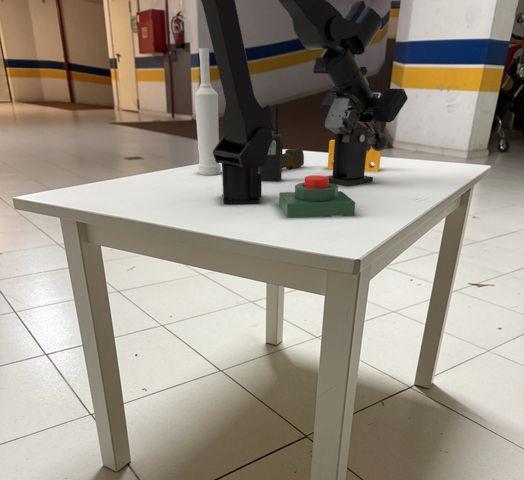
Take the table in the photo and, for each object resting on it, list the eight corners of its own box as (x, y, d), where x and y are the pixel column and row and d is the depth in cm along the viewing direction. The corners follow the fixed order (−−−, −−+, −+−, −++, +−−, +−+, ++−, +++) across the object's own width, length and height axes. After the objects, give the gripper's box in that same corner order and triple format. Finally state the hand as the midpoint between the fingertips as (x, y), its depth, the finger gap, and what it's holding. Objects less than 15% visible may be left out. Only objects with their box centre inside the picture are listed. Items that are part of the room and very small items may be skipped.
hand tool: (257, 177, 111) (257, 155, 109) (245, 174, 114) (245, 153, 112) (311, 168, 123) (312, 148, 121) (299, 166, 126) (300, 146, 123)
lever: (376, 151, 110) (379, 133, 108) (388, 152, 107) (392, 134, 106) (338, 144, 102) (342, 125, 101) (351, 146, 100) (355, 127, 98)
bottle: (222, 171, 118) (218, 48, 106) (218, 175, 113) (213, 47, 101) (201, 171, 118) (194, 49, 106) (196, 175, 114) (189, 47, 102)
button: (306, 191, 80) (307, 179, 79) (302, 186, 83) (302, 175, 82) (331, 190, 80) (331, 179, 79) (325, 185, 84) (326, 175, 83)
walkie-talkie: (258, 181, 106) (258, 103, 99) (262, 178, 109) (262, 103, 102) (280, 182, 105) (281, 104, 98) (283, 179, 108) (285, 103, 101)
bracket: (348, 178, 110) (352, 125, 105) (372, 183, 105) (378, 127, 100) (322, 182, 106) (325, 127, 101) (346, 187, 101) (351, 129, 96)
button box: (287, 217, 79) (287, 192, 77) (279, 205, 87) (279, 181, 85) (354, 216, 80) (356, 190, 78) (340, 203, 88) (342, 180, 86)
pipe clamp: (379, 169, 121) (382, 140, 118) (377, 171, 118) (380, 142, 114) (330, 166, 124) (332, 139, 121) (327, 169, 121) (329, 140, 117)
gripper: (290, 107, 100) (325, 160, 111) (359, 110, 87) (392, 170, 99) (320, 62, 101) (352, 119, 112) (393, 60, 88) (422, 124, 99)
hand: (377, 133), depth 105 cm, fingers closed, pressing on lever
